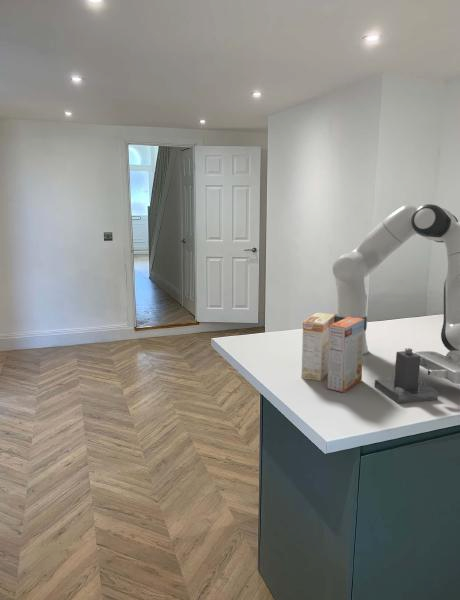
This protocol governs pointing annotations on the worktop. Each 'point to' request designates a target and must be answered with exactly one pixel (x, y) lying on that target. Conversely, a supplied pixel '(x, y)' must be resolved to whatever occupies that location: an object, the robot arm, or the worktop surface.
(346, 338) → the cracker box
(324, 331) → the coffeecake box
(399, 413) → the worktop surface
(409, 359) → the plug
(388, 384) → the socket plate
